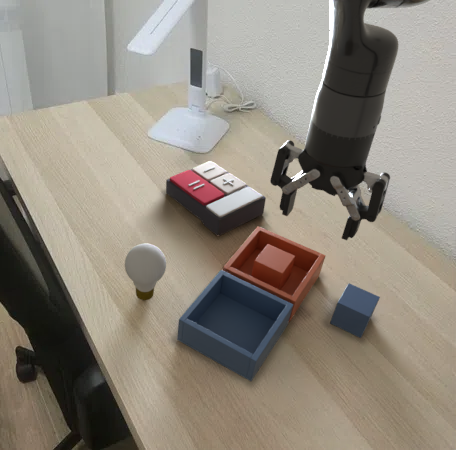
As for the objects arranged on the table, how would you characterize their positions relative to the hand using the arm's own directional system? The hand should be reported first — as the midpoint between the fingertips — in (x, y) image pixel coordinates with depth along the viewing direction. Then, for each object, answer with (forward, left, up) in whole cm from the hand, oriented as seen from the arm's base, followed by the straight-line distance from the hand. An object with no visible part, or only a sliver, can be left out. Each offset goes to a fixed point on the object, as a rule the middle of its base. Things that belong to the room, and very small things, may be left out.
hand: (316, 224), depth 75 cm
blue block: (-9, 0, -14) cm, 16 cm away
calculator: (+21, -12, -14) cm, 28 cm away
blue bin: (+4, +12, -14) cm, 19 cm away
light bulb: (+18, +14, -14) cm, 27 cm away
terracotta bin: (+4, 0, -14) cm, 15 cm away
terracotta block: (+4, 0, -14) cm, 14 cm away
